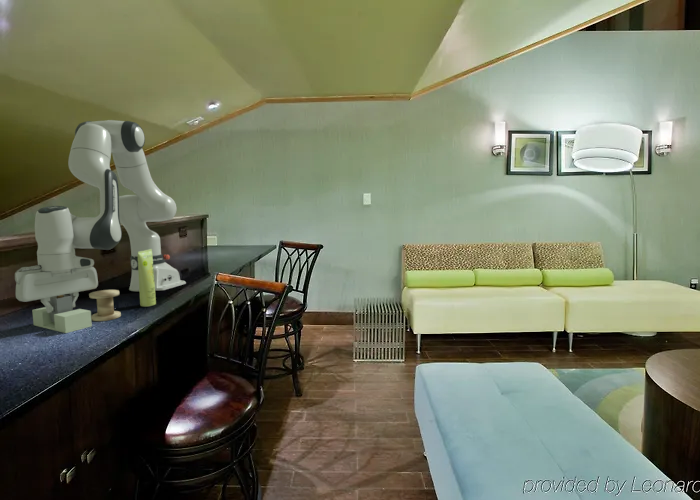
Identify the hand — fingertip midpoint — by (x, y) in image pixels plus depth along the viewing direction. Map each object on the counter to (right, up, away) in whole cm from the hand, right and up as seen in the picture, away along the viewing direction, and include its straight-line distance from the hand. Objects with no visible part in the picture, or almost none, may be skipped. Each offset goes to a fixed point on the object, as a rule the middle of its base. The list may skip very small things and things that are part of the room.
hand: (61, 310), depth 116 cm
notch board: (0, -5, 0) cm, 5 cm away
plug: (0, -3, 0) cm, 3 cm away
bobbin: (+8, -4, +9) cm, 12 cm away
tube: (+13, -2, +24) cm, 27 cm away
